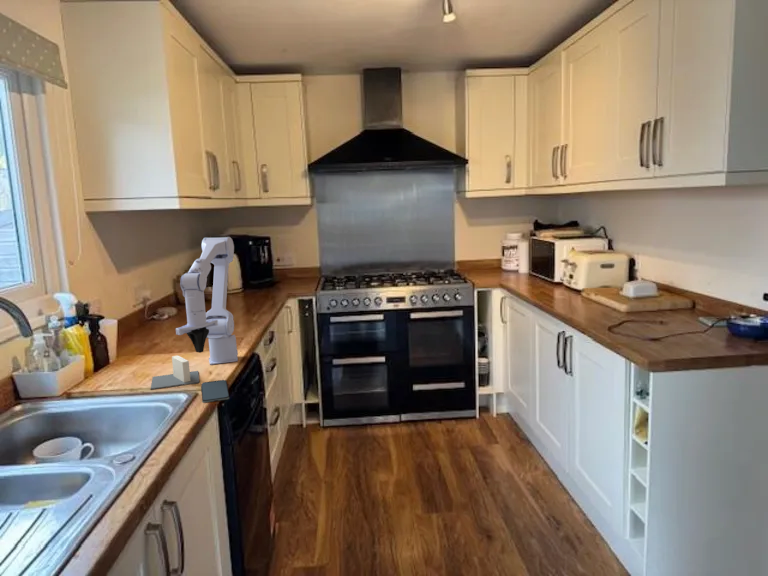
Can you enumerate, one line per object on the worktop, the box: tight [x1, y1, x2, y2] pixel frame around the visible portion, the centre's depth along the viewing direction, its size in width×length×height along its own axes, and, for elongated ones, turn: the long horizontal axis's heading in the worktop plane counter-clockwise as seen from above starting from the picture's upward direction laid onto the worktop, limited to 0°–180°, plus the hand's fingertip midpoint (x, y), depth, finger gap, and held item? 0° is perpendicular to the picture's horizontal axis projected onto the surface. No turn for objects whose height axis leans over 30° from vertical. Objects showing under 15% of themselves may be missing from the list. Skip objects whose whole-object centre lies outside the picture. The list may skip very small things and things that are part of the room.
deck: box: [171, 355, 191, 382], centre depth 171 cm, size 2×9×6 cm, turn 41°
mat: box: [150, 370, 200, 390], centre depth 171 cm, size 14×12×1 cm
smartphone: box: [200, 379, 230, 404], centre depth 159 cm, size 8×2×15 cm
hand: (199, 351), depth 172 cm, fingers closed
